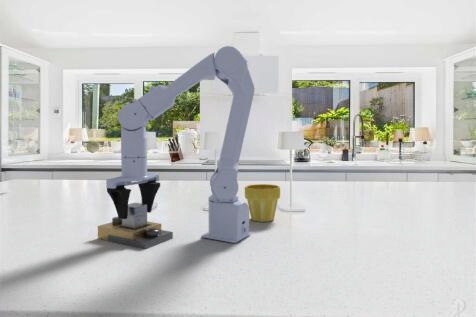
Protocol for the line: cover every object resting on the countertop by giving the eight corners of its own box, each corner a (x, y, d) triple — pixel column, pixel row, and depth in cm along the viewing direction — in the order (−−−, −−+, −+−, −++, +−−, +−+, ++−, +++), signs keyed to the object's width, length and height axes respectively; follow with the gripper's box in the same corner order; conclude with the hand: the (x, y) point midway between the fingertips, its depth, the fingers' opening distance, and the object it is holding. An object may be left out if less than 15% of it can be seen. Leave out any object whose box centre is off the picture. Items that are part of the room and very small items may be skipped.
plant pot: (237, 219, 99) (237, 186, 98) (259, 213, 106) (259, 182, 106) (265, 225, 92) (265, 190, 91) (286, 219, 99) (287, 186, 99)
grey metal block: (147, 237, 81) (147, 204, 80) (134, 242, 77) (134, 207, 77) (135, 235, 83) (134, 202, 82) (122, 239, 79) (121, 205, 79)
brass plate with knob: (172, 238, 80) (172, 220, 80) (145, 249, 72) (144, 229, 72) (127, 229, 87) (127, 213, 87) (97, 238, 80) (97, 220, 79)
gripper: (144, 155, 87) (145, 207, 88) (96, 158, 74) (97, 219, 75) (165, 156, 83) (166, 210, 84) (118, 159, 71) (120, 223, 72)
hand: (135, 215), depth 80 cm, fingers open, 7 cm apart
